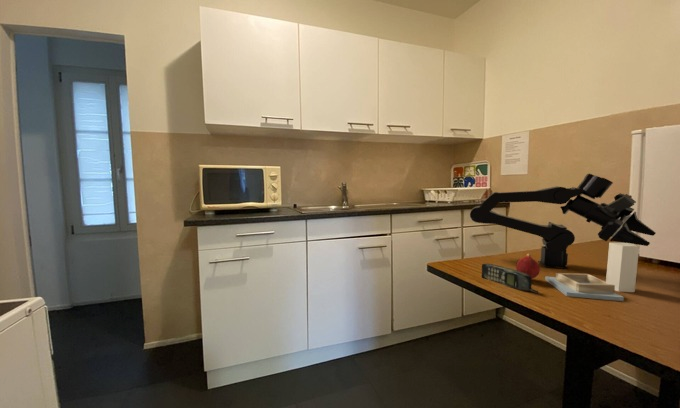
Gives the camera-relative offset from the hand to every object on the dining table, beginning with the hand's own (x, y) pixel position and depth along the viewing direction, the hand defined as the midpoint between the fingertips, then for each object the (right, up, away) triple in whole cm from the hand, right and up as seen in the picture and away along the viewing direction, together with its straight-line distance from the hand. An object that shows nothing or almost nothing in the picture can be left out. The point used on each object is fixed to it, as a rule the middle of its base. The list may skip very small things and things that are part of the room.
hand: (651, 239), depth 80 cm
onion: (-34, -13, +3) cm, 37 cm away
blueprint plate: (-24, -13, -4) cm, 28 cm away
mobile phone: (-42, -13, 0) cm, 44 cm away
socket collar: (-24, -13, -4) cm, 28 cm away
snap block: (-13, -13, -4) cm, 19 cm away
